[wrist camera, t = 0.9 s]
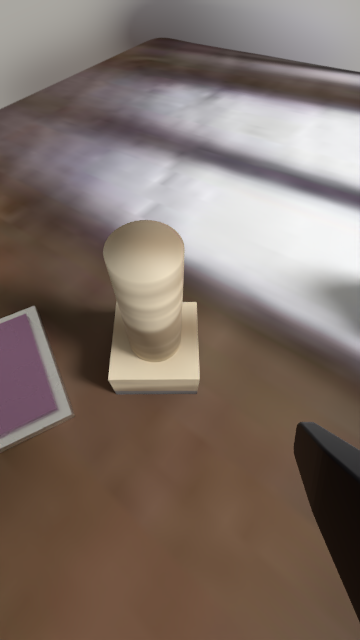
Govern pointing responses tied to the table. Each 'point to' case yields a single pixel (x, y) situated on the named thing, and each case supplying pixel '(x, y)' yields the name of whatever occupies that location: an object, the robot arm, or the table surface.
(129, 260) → the stamp
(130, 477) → the table surface
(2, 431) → the ink pad
